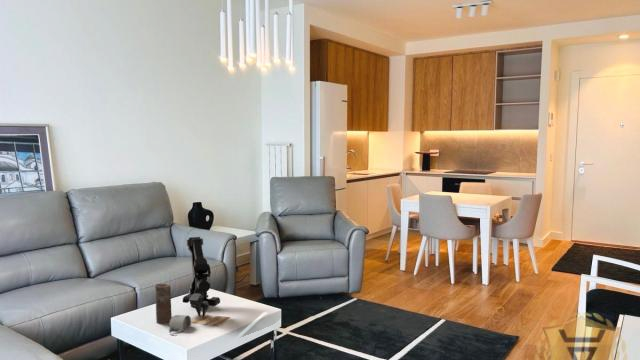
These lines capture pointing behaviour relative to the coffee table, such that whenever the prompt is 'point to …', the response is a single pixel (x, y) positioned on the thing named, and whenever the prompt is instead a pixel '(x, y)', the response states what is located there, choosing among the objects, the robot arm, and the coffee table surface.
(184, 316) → the ceramic mug
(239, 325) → the coffee table surface
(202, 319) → the plank
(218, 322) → the floor board
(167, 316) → the candle
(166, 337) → the coffee table surface
